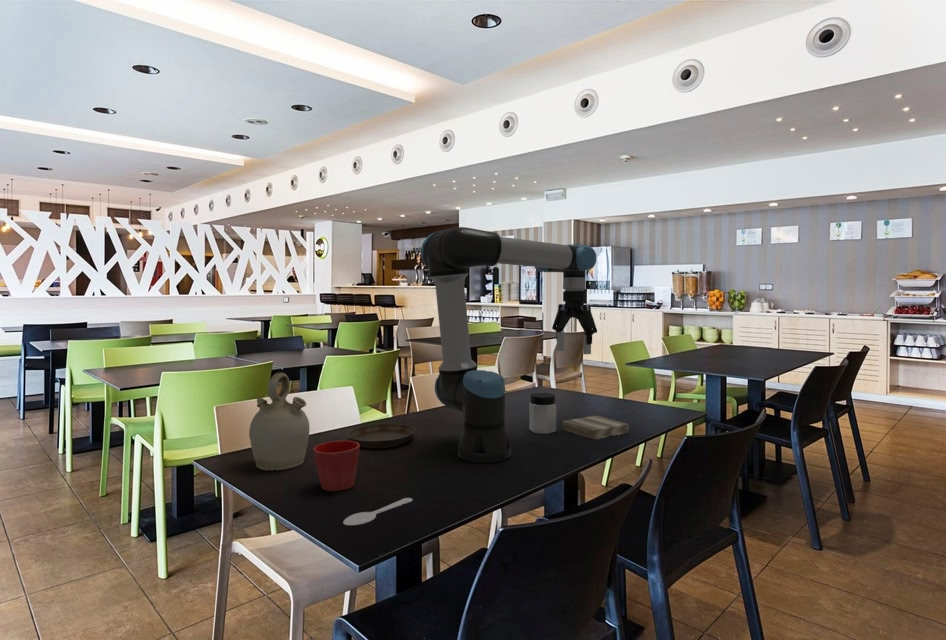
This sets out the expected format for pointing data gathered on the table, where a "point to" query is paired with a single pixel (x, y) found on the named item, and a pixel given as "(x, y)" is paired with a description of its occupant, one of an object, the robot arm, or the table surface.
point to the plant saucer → (382, 435)
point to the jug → (279, 429)
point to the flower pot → (337, 464)
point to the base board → (595, 427)
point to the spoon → (372, 513)
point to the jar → (542, 413)
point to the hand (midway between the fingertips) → (573, 352)
